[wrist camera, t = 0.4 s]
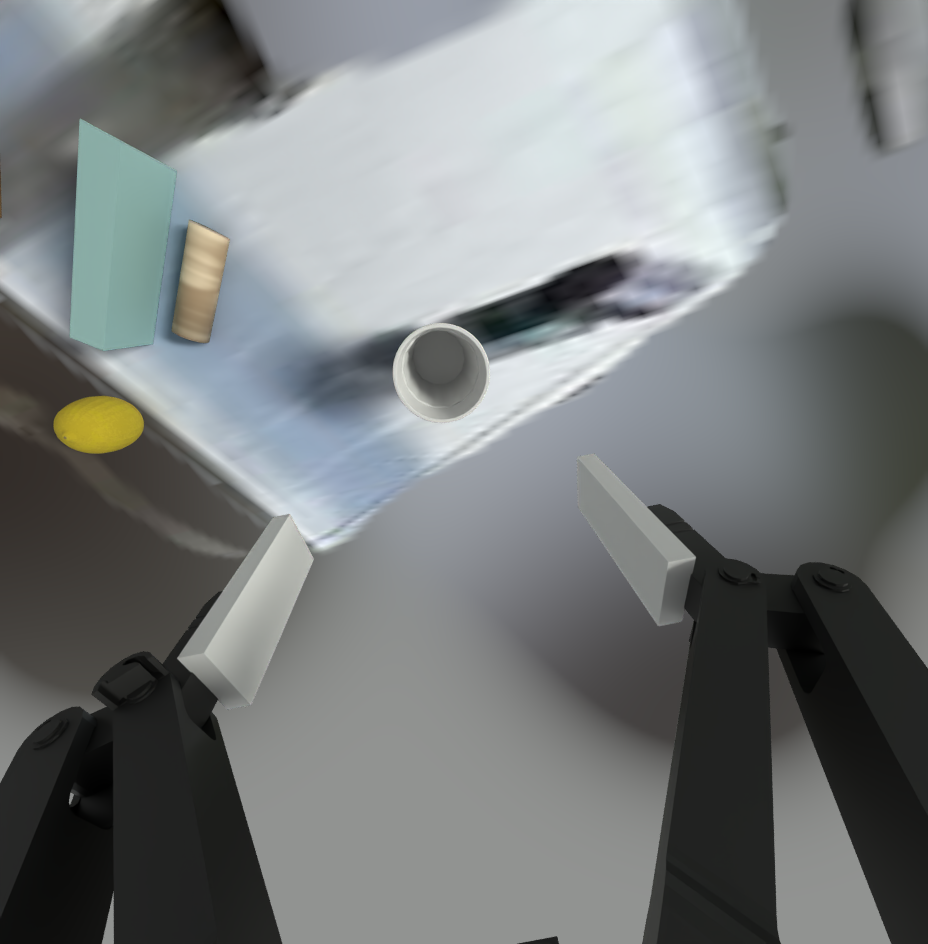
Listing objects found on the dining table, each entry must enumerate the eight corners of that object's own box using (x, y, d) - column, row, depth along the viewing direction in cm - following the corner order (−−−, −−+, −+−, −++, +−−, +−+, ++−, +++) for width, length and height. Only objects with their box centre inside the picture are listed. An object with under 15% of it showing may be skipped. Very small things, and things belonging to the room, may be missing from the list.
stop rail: (125, 332, 35) (69, 337, 29) (144, 153, 29) (79, 118, 24) (152, 344, 35) (103, 351, 30) (177, 171, 30) (121, 141, 24)
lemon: (124, 378, 37) (50, 396, 30) (171, 418, 39) (113, 443, 32) (93, 408, 38) (14, 432, 31) (141, 445, 40) (78, 475, 33)
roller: (214, 340, 36) (200, 344, 34) (181, 326, 35) (164, 330, 32) (235, 241, 33) (221, 237, 30) (199, 222, 32) (181, 217, 29)
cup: (419, 401, 41) (415, 435, 30) (391, 333, 37) (375, 344, 26) (482, 378, 40) (501, 404, 29) (460, 307, 37) (472, 307, 26)
